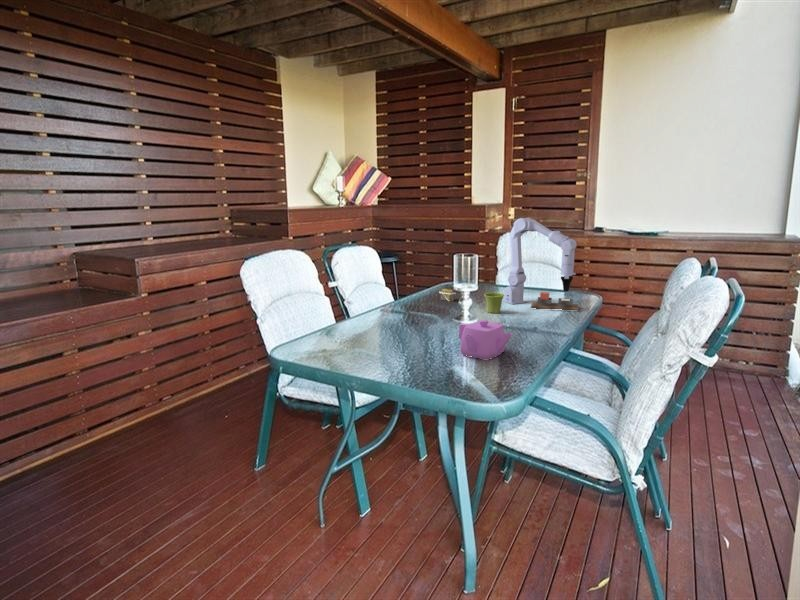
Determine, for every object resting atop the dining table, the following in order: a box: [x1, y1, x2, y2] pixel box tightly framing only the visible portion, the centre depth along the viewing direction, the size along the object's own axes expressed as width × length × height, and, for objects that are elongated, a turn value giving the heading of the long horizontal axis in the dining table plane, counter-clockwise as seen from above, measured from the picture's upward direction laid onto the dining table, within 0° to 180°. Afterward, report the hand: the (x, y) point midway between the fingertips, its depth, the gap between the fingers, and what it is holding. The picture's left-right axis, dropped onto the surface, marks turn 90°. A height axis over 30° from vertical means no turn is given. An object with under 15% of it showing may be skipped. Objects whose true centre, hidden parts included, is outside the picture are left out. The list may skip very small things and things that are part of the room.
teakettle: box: [458, 319, 513, 359], centre depth 181 cm, size 17×17×12 cm
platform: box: [438, 288, 457, 302], centre depth 271 cm, size 12×18×7 cm, turn 53°
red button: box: [539, 291, 550, 300], centre depth 252 cm, size 4×4×3 cm
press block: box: [530, 296, 579, 311], centre depth 251 cm, size 22×11×4 cm, turn 71°
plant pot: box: [484, 292, 505, 314], centre depth 243 cm, size 9×9×9 cm
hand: (565, 291), depth 248 cm, fingers closed
